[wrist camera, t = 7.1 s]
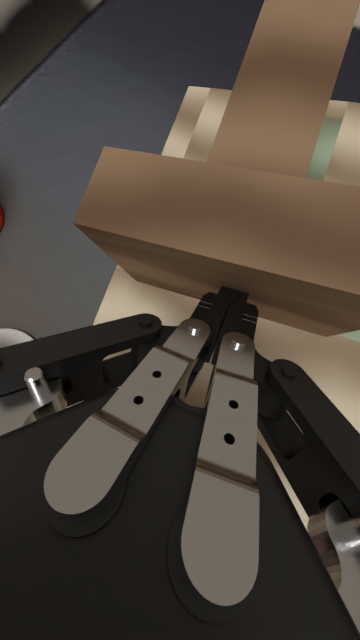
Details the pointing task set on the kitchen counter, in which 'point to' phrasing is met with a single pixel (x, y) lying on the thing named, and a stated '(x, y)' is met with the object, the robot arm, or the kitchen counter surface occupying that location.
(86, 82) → the kitchen counter surface
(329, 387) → the board
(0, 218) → the paper cup
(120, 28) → the kitchen counter surface
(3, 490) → the robot arm
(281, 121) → the t block
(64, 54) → the kitchen counter surface
